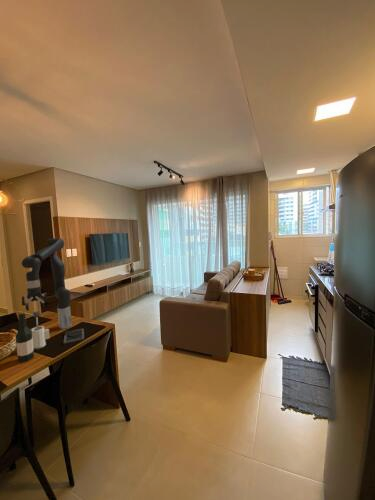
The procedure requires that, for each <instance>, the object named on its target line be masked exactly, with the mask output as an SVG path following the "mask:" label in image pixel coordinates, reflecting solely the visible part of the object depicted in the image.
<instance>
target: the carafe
mask: <svg viewBox="0 0 375 500" xmlns="http://www.w3.org/2000/svg"><path fill="white" fill-rule="evenodd" d="M40 327H41V328H42V329H40V330H34V329H36V328H37V326H36V327H33V328H31V329H30V330H31V331H32V338H33V348H34V350H39V349H42V348H45V346H47V342H46V340H49V339H50V328H47V329H45V326H43V325H41V326H40V325H38V328H40Z"/></svg>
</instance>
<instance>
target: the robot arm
mask: <svg viewBox="0 0 375 500" xmlns="http://www.w3.org/2000/svg"><path fill="white" fill-rule="evenodd" d="M64 247H65V240H63V238H61V237H60V238H59V237H57V238H49V239H47V241H46V247H43V248H41V249H39V250H38V251H36V252H35V253H34V254H31V255H29V256H26V257H24V259H22V261H21V266H22V267H23V268H24V269H31V270H30V271H27V272H26V273H25V277H26V279H25V280H26V292H27V295H22V297H21V305H22V306H25V310H26V311H28V312H29V311H30V306H29V304H30V303H31V302H37V301H39V302H40V303H41V308H42V309H44V308H45V307H46V304H45V303H46V302H47V301H48V296H47V292H44V293H42V291H41V289H42V288H41V282H40V275H39V274H40V269H41V265H42V262H43V261H44V260H46V259H47V258H48V257H49V259H50V267H51V271H52V272H51V273H52V278H53V284H54V296H55V298H57V299H58V300H57V302H58V303H57V305H56V306H57V307H56V308H57V317H58V318H57V319H58V328H59V329H60V330H64V329H67V328H70V327H71V328H72V324H73V323H72V315H71V292H70V290H69V289H67V288H66V286H65V285H66V284H65V278H66V277H65V276H66V267H65V264H64V262H63V261H62V259H61V258H60V257H59V256H58V254H57V252H58V251H60V250H63V248H64ZM42 297H44V299H43V298H42ZM26 299H28V300H27V302H25V300H26Z"/></svg>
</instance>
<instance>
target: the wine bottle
mask: <svg viewBox="0 0 375 500" xmlns="http://www.w3.org/2000/svg"><path fill="white" fill-rule="evenodd" d="M26 318H27V317H26V313H25V312H19V313H18V325H19V329H18V331H17V333H16V335H15V344H16V350H17V352H16V354H17V362H18V363H26V362H29V361H31V360H32V359H34V358H35V349H34V348H33V338H32V331H31V330H32V329H30V328H29V327H28V326H27V319H26Z"/></svg>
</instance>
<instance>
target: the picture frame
mask: <svg viewBox="0 0 375 500" xmlns="http://www.w3.org/2000/svg"><path fill="white" fill-rule="evenodd" d="M83 340H85V328H80V329H75V330H74V329H73V330H68V331H65V332H64V337H63V345H65V344H70V343H74V342H78V341H83Z"/></svg>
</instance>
